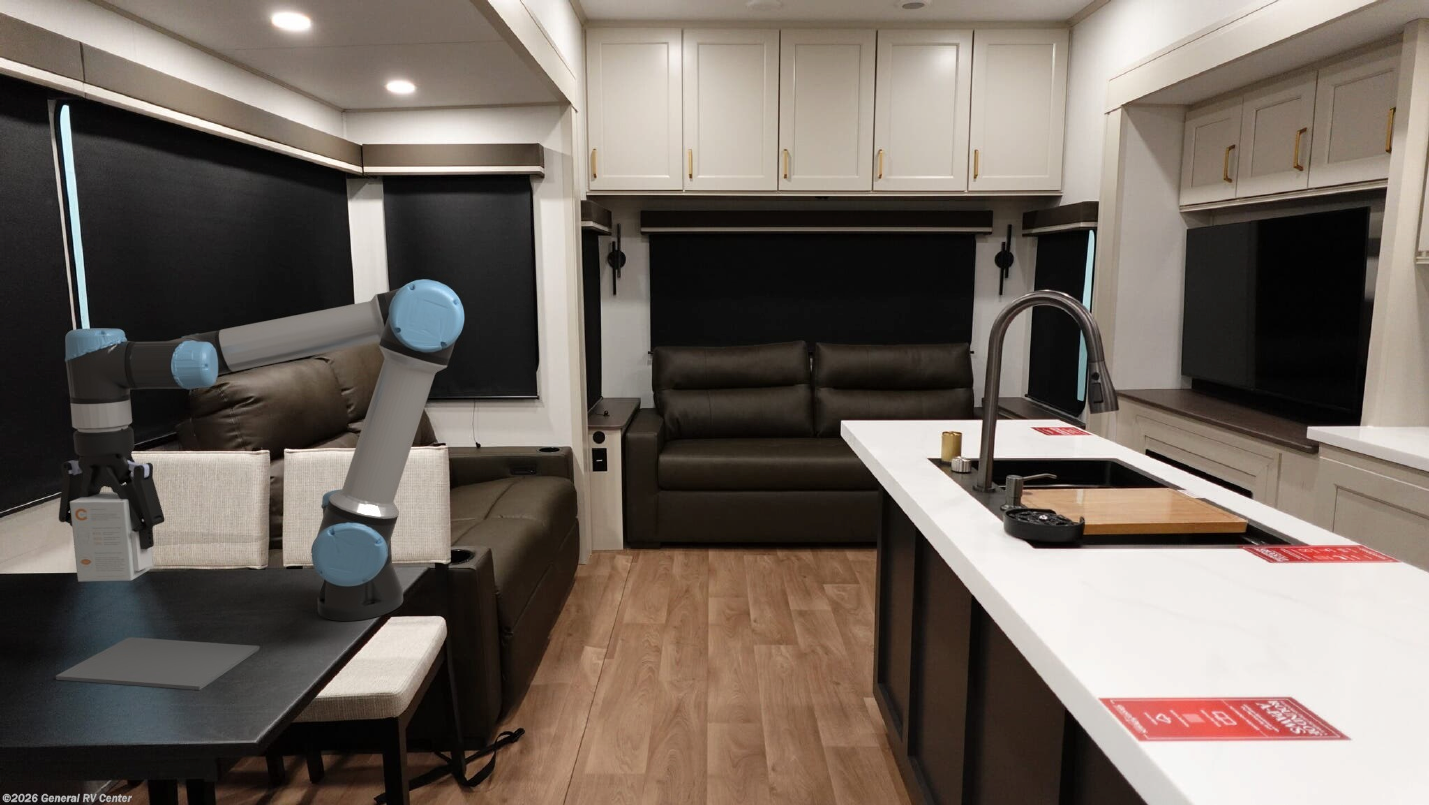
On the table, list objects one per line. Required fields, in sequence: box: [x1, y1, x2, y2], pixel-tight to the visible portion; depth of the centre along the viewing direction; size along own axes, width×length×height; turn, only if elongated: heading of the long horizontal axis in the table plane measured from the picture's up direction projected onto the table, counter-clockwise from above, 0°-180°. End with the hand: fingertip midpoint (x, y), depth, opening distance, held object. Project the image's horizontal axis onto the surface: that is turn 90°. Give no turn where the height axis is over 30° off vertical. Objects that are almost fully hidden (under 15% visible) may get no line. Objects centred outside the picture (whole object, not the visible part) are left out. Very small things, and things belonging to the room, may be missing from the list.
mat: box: [55, 636, 261, 691], centre depth 132 cm, size 24×14×1 cm, turn 84°
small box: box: [70, 491, 155, 582], centre depth 129 cm, size 8×6×13 cm
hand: (116, 566), depth 130 cm, fingers closed on small box, 9 cm apart
